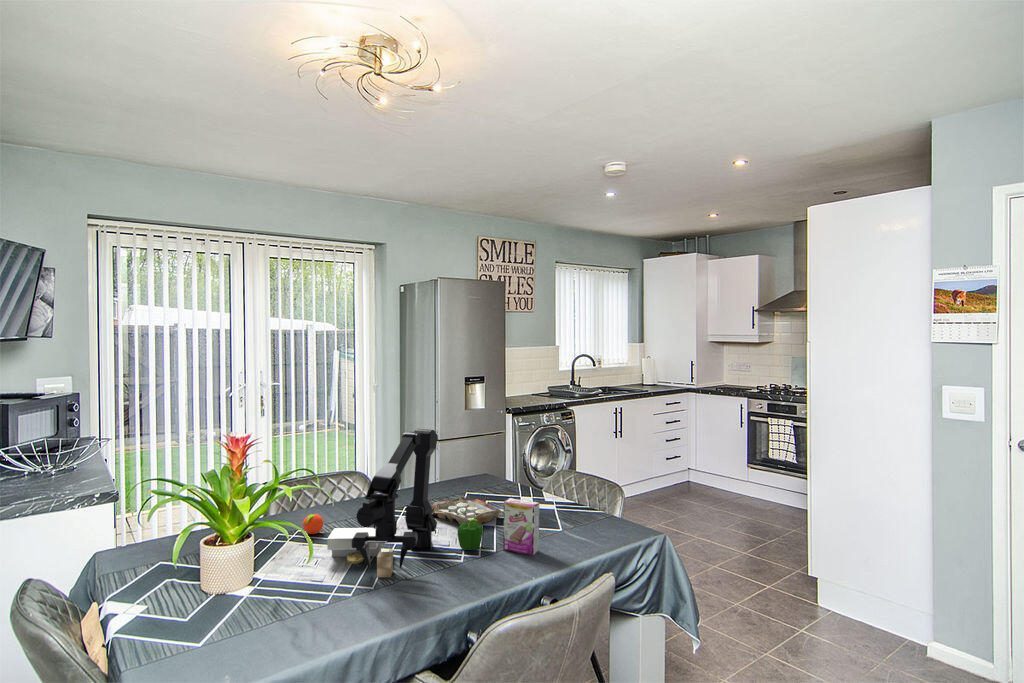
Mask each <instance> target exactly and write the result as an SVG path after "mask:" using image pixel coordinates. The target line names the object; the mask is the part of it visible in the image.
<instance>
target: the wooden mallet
mask: <svg viewBox="0 0 1024 683" xmlns="http://www.w3.org/2000/svg"><path fill="white" fill-rule="evenodd" d="M393 563H394V549H393V548H390V549H389V550H388V551H381V552H379V554H378V556H376V578H392V574H393V571H394V568H393V567H394V564H393Z"/></svg>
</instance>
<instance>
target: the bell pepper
mask: <svg viewBox="0 0 1024 683" xmlns="http://www.w3.org/2000/svg"><path fill="white" fill-rule="evenodd" d="M477 521H478V520H477V519H472V520H470V522H469V523H465V522H463V523H462V524H459V526H458V527H457V539H458V544H459V547H460V548H461V550H464V551H470V550H478V549H479V548H480V545H481V543H482V539H483V534H484V531H483V530H484V527H483V525H482V524H476V523H475V522H477Z"/></svg>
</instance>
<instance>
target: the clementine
mask: <svg viewBox="0 0 1024 683" xmlns="http://www.w3.org/2000/svg"><path fill="white" fill-rule="evenodd" d="M302 528H303V531H304V532H305V533H307V534H308V535H316V534H318V533H319V532H320V531H321V530H322V529H323V528H324V519H323V518H322V516H321V515H319V514H318V513H311V514H309V515H307V516H306V517H305V518H304V519H303V523H302Z"/></svg>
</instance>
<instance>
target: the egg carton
mask: <svg viewBox="0 0 1024 683" xmlns="http://www.w3.org/2000/svg"><path fill="white" fill-rule="evenodd" d="M431 507H432V515H435V516H437V517H438V518H439V519H443V520H447V519H448V521H449V522H452V523H453V522H455V521H456V522H458V524H459V525H460V524H462V523H463V522H465V523H469V522H470V520H472V519H477V520H478V521H477V522H475V523H476V524H481V525H482V524H483V523H484V522H485V523H489V522H490V521H492V519H493V518H494V516H495V518H496V519H498V517H499V514H501V512H504V508H495V507H493V506H491V505H490V503H487V502H485V501H483V500H480V499H478V498H474V497H473V498H472V497H466V496H465V497H463V496H458V497H457V496H456V497H455V498H454V497H453V498H447V499H446V500H442V501H437V502H436V501H435V502H434V503H432V504H431Z"/></svg>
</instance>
